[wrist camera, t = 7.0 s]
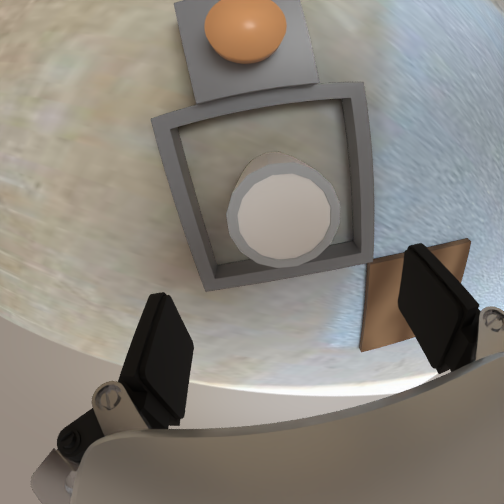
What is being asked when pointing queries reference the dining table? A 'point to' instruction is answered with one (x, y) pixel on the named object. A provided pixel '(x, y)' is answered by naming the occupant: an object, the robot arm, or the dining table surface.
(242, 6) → the orange rounded piece
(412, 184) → the dining table surface
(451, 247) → the walnut mat
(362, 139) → the housing
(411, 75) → the dining table surface
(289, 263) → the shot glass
